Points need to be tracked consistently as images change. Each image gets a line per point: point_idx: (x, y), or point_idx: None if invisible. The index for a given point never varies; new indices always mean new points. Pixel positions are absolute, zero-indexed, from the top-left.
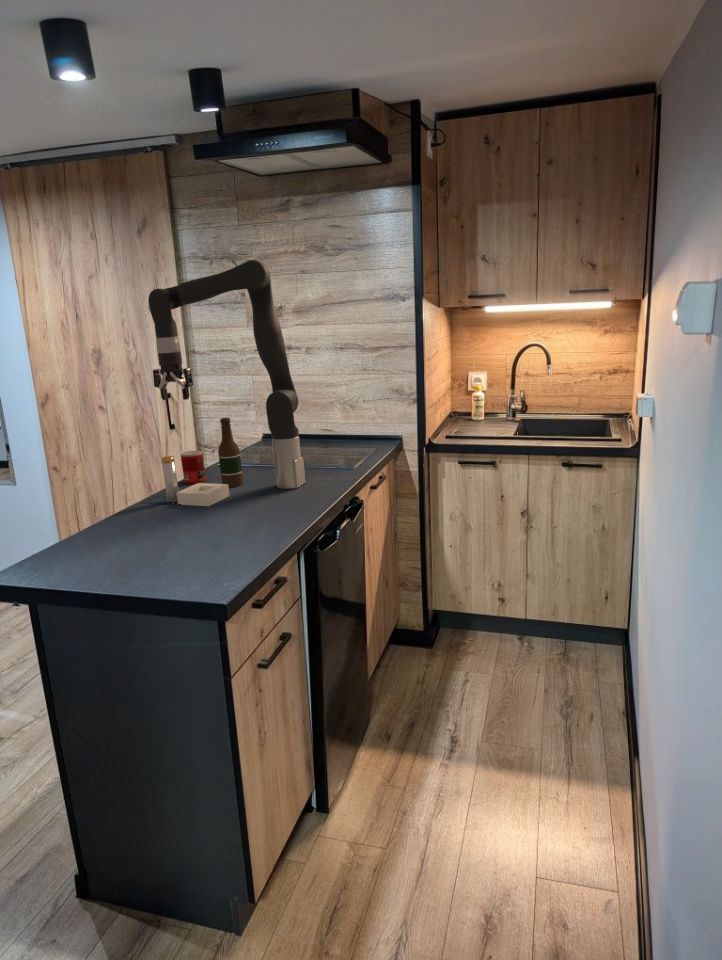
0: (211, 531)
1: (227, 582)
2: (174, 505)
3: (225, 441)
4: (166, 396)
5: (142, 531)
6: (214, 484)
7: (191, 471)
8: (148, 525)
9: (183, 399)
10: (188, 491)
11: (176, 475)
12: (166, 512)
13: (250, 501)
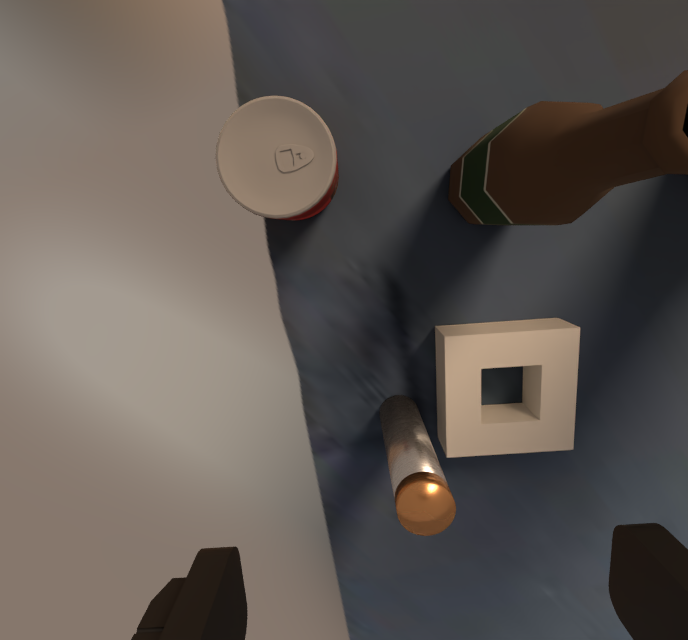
0: None
1: None
2: None
3: (594, 193)
4: (226, 611)
5: (498, 628)
6: (525, 341)
7: (311, 214)
8: (481, 594)
9: (614, 605)
10: (481, 437)
11: (430, 444)
12: None
13: (665, 355)
